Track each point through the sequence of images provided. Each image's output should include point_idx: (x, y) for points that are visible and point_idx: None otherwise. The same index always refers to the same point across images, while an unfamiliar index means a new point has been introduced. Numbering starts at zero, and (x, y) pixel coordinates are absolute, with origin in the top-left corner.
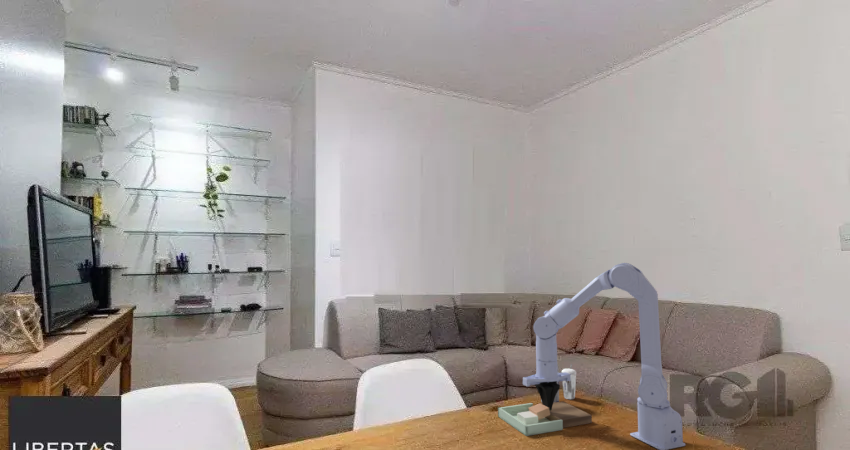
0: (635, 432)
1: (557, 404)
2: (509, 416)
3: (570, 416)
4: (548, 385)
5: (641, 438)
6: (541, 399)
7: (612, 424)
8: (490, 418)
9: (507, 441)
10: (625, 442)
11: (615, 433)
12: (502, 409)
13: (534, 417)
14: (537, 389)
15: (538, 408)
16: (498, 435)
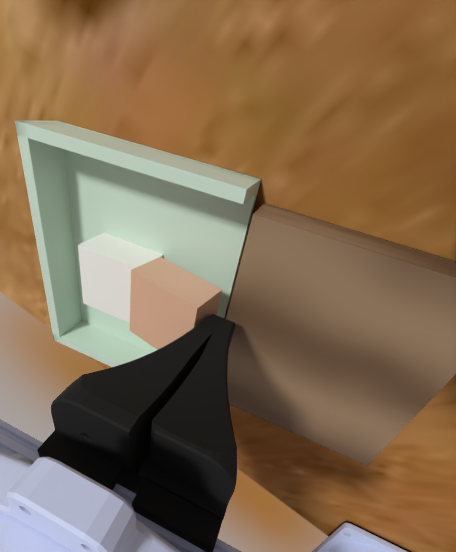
0: (368, 539)
1: (398, 304)
2: (40, 240)
3: (272, 408)
4: (129, 487)
5: (333, 543)
6: (181, 338)
7: (415, 486)
8: (20, 119)
9: (21, 302)
10: (288, 506)
11: (330, 491)
12: (29, 161)
13: (125, 318)
14: (120, 367)
15: (155, 323)
16: (9, 262)
